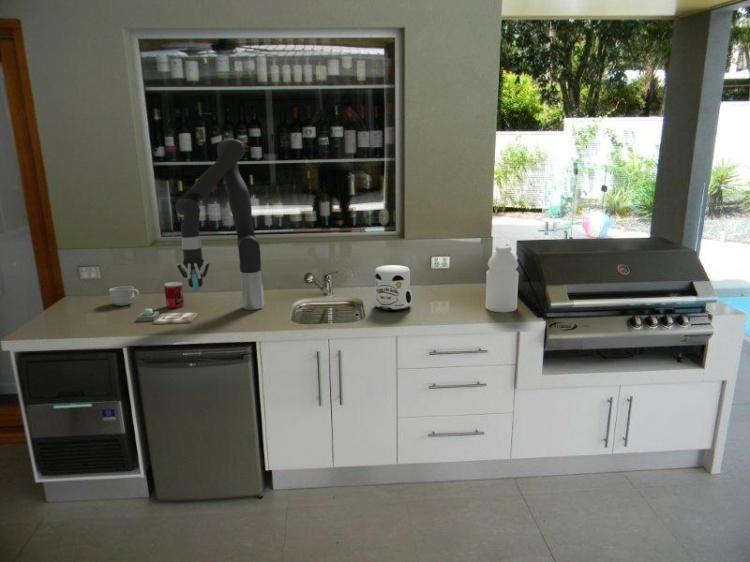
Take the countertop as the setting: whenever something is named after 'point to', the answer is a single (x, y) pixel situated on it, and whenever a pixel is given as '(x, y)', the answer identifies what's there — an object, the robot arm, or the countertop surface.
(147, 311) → the mint green capsule
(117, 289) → the teacup
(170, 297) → the canned food
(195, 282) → the marker
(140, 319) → the button housing
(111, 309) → the countertop surface
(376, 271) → the milk container
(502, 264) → the bottle
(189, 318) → the board
